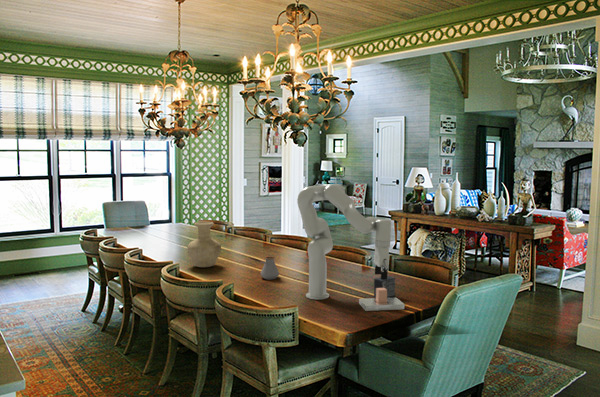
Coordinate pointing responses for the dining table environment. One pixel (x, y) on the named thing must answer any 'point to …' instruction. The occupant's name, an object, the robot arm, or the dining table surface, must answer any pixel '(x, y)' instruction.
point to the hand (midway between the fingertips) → (380, 276)
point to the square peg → (381, 295)
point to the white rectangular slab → (372, 305)
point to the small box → (385, 286)
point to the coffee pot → (268, 268)
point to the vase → (204, 247)
